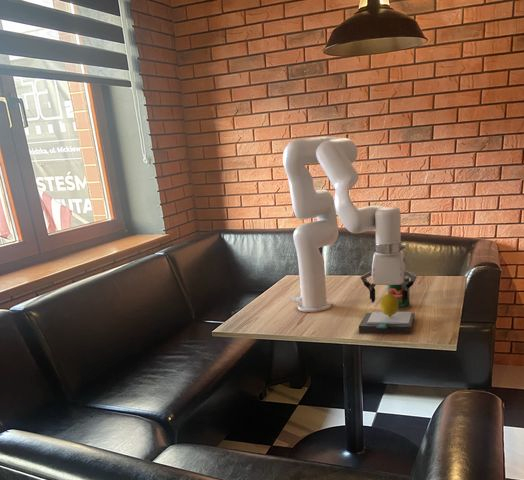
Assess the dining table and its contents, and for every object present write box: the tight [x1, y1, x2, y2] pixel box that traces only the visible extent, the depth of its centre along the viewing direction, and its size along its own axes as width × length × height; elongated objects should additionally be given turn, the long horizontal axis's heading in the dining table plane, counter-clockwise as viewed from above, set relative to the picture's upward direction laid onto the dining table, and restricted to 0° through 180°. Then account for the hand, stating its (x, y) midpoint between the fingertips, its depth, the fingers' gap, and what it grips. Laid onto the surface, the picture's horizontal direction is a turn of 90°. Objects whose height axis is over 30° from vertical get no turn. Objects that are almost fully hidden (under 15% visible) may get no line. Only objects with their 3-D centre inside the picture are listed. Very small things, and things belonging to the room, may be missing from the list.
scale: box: [358, 311, 416, 335], centre depth 173 cm, size 16×16×3 cm
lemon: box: [380, 293, 399, 317], centre depth 172 cm, size 6×6×8 cm
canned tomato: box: [386, 275, 411, 311], centre depth 191 cm, size 8×8×11 cm
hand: (388, 301), depth 172 cm, fingers open, 9 cm apart
